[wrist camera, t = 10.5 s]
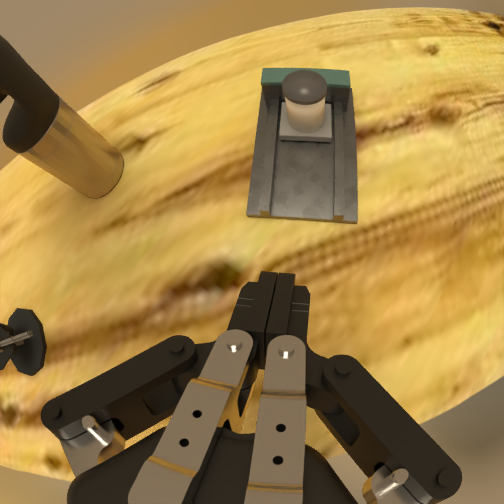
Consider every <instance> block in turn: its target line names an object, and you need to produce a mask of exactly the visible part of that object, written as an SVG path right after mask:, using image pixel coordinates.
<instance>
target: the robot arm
mask: <svg viewBox="0 0 504 504" xmlns="http://www.w3.org/2000/svg"><path fill="white" fill-rule="evenodd" d="M7 95H10V96H11V97H12V98H13V99H14V100H15V101H14V104H13V106H12V108H11V110H10V112H9V114H8V116H7V119H6V121H5V124H4V129H3V141H4V143H5V144H6V146H7V147H9V148H10V149H12V150H13V151H15V152H16V153H18V154H20V155H21V156H23V157H24V158H26V159H27V160H29V161H31V162H32V163H34V164H35V165H37V166H39V167H40V168H42V169H43V170H45V171H47V172H48V173H50V174H51V175H53V176H55V177H56V178H58V179H60V180H61V181H63V182H64V183H66V184H68V185H69V186H71V187H73V188H74V189H76V190H77V191H79V192H81V193H82V194H84V195H86V196H87V197H90V198H98V197H101V196H103V195H105V194H107V193H108V192H109V191H110V190H111V189H112V188H113V187H114V186H115V185H116V183H117V182H118V180H119V178H120V176H121V174H122V170H123V158H122V156H121V154H120V153H119V152H118V151H117V150H116V149H115V148H114V147H113V146H112V145H111V144H110V143H109V142H108V141H107V140H105V139H104V138H103V137H102V136H101V135H100V134H99V133H98V132H97V131H96V130H95V129H94V128H92V127H91V126H90V125H89V124H88V123H87V122H86V121H85V120H84V119H83V118H82V117H81V116H80V115H78V114H77V113H76V112H75V111H74V110H73V109H72V108H71V107H70V106H68V105H67V103H66V102H64V101H63V100H62V99H61V98H60V97H59V96H58V95H57V94H56V93H55V92H54V91H53V90H52V89H51V88H50V87H49V86H48V85H47V84H46V83H45V81H43V79H42V78H41V77H40V76H39V75H38V74H37V73H36V72H35V71H34V70H33V69H32V68H31V67H30V66H29V65H28V64H27V63H26V62H25V61H24V59H23V58H22V57H21V56H20V55H19V54H18V53H17V51H16V50H15V49H14V48H13V47H12V46H11V45H10V44H9V43H8V41H6V40H5V39H4V38H3V37H2V36H1V35H0V103H1V102H2V101H3V100H4V99H5V98H6V97H7ZM309 305H310V293H309V291H308V289H307V287H306V286H295V274H290V273H279V274H278V273H277V272H265V271H261V273H260V277H259V280H258V282H248V283H247V284H246V285H245V286H244V287H243V288H242V289H241V291H240V294H239V297H238V300H237V303H236V306H235V308H234V311H233V314H232V317H231V320H230V323H229V326H228V328H227V331H226V332H224V333H222V334H221V335H220V336H219V337H218V338H217V340H216V341H213V342H210V343H202V344H194V342H193V341H192V340H191V339H190V338H189V337H186V336H182V335H176V336H172V337H170V338H168V339H166V340H164V341H162V342H160V343H159V344H157V345H155V346H153V347H151V348H149V349H148V350H146V351H144V352H142V353H140V354H138V355H136V356H135V357H133V358H131V359H129V360H127V361H125V362H123V363H122V364H120V365H118V366H116V367H114V368H112V369H110V370H108V371H106V372H105V373H103V374H101V375H99V376H97V377H95V378H93V379H91V380H89V381H87V382H85V383H83V384H81V385H79V386H78V387H76V388H74V389H72V390H70V391H68V392H66V393H64V394H62V395H60V396H58V397H56V398H54V399H52V400H50V401H48V402H47V403H46V404H45V405H44V407H43V409H42V411H41V420H42V423H43V424H44V426H45V427H46V428H48V429H49V430H50V431H51V432H52V433H53V434H54V435H55V436H56V437H57V438H58V439H59V440H60V442H61V445H62V447H63V450H64V452H65V455H66V457H67V459H68V462H69V464H70V466H71V468H72V470H73V473H74V475H75V477H76V478H75V479H74V480H73V481H72V483H71V485H70V487H69V489H68V493H67V504H358V503H357V501H356V500H355V499H354V497H353V496H352V495H351V493H350V492H349V491H348V489H347V488H346V487H345V485H344V484H343V483H342V481H341V480H340V479H339V477H338V476H337V474H336V473H335V471H334V470H333V469H332V467H331V466H330V464H329V463H328V462H327V460H326V459H325V458H324V457H323V456H322V455H321V454H320V453H319V452H318V451H316V450H315V449H313V448H312V447H310V446H308V445H306V444H305V431H306V406H308V407H311V408H313V409H315V412H316V414H317V415H318V416H319V418H320V419H321V420H322V422H323V423H324V424H325V425H326V427H327V428H328V429H329V430H330V432H331V433H332V434H333V435H334V437H335V438H336V439H337V440H338V442H339V443H340V444H341V445H342V447H343V448H344V449H345V450H346V452H347V453H348V454H349V455H350V456H351V458H352V459H353V460H354V461H355V463H356V464H357V465H358V466H359V467H360V469H361V470H362V471H363V472H364V474H365V475H366V476H367V477H368V479H367V480H366V482H365V483H364V485H363V489H362V493H363V497H364V499H365V501H366V503H367V504H436V503H438V502H441V501H443V500H445V499H447V498H449V497H451V496H452V495H454V494H455V493H456V491H458V489H459V487H460V485H461V482H462V473H461V470H460V468H459V466H458V465H457V464H456V463H455V462H454V461H453V460H452V459H451V458H450V457H449V456H448V455H447V454H446V453H445V452H444V451H443V450H442V449H441V447H440V446H439V445H438V444H437V443H436V442H435V441H434V440H433V439H432V438H431V437H430V436H429V435H428V434H427V433H426V432H425V431H424V430H423V429H422V428H421V427H420V426H419V425H418V423H417V422H416V421H415V420H414V419H413V418H412V417H411V416H410V415H409V414H408V413H407V412H406V411H405V410H404V409H403V408H402V407H401V406H400V405H399V404H398V403H397V402H396V401H395V399H394V398H393V397H392V396H391V395H390V394H389V393H388V392H387V391H386V390H385V389H384V388H383V387H382V386H381V385H380V384H379V383H378V382H377V381H376V380H375V379H374V378H373V377H372V375H371V374H370V373H369V372H368V371H367V370H366V369H365V368H364V367H363V366H362V365H361V364H360V363H359V362H358V361H357V360H356V359H355V358H353V357H351V356H348V355H335V356H333V357H331V358H329V359H328V358H325V357H322V356H320V355H317V354H316V353H314V352H313V351H312V350H311V349H310V348H309V346H308V344H307V328H308V317H309ZM258 369H264V370H265V374H264V382H263V390H262V392H261V396H260V402H259V410H258V418H257V425H256V433H251V434H241V430H242V423H243V419H244V416H245V414H246V411H247V408H248V405H249V402H250V399H251V396H252V393H253V390H254V387H255V380H256V377H257V373H258ZM172 414H173V415H172ZM170 415H172V417H171V419H170V421H169V423H168V425H167V426H166V427H163V428H161V429H159V430H157V431H155V432H153V433H152V434H150V435H149V436H147V437H145V438H144V439H142V440H140V441H139V442H137V443H135V444H134V445H132V446H130V447H128V448H127V449H125V450H124V448H125V441H126V440H128V439H130V438H132V437H134V436H136V435H137V434H139V433H141V432H143V431H145V430H146V429H148V428H150V427H152V426H153V425H155V424H157V423H159V422H160V421H162V420H164V419H165V418H167V417H169V416H170Z"/></svg>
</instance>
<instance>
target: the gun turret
mask: <svg viewBox="0 0 504 504" xmlns="http://www.w3.org/2000/svg"><path fill="white" fill-rule="evenodd" d="M46 348H47V346H46V341H45V336H44V331H43V325H42V324H41V322H40V321H39V319H38V318H37V316H36V315H35V313H34V312H33V310H27V309H20V308H17V309H16V310H15V312H14V313H13V314H12V315H11V317H10V318H9V320H8V325H4V324H1V323H0V370H3V369H4V367H5V366H6V364H7V362H8V361H9V359H10V358H11V360H12V362H13V363H14V365H15V367H16V368H17V370H18V371H19V372H21V373H24V374H27V375H29V376H33V375H35V374H36V373H37V372H38V371H39V370H40V369H41V368H42V367H43V366H44V359H45V354H46Z"/></svg>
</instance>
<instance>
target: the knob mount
mask: <svg viewBox="0 0 504 504" xmlns="http://www.w3.org/2000/svg"><path fill="white" fill-rule="evenodd" d="M298 70H310V71H314V72H316V73H318V74H320V75H321V76H323V78H324V79H325V80H326V82H327V94H326V96H325V104H331V129H332V139H331V142H317V141H296V140H280V136H279V133H280V121H281V109H282V102H286V100H285V96H284V94H283V90H282V82H283V79H284V78H285V77H286V76H287V75H288V74H290V73H292V72H294V71H298ZM261 85H262V93H261V100H260V108H259V116H258V124H257V132H256V140H255V148H254V156H253V164H252V172H251V180H250V188H249V197H248V205H247V213H246V215H247V216H248V217H259V218H277V219H294V220H309V221H324V222H337V223H351V224H356V223H357V156H356V136H355V120H354V107H353V96H352V88H350V86H351V85H350V76H349V71H345V70H331V69H312V68H263V71H262V78H261Z"/></svg>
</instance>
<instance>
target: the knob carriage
mask: <svg viewBox="0 0 504 504" xmlns="http://www.w3.org/2000/svg"><path fill="white" fill-rule="evenodd" d="M282 90H283V94H284V96H285V100H286V102H282V109H281V121H280V133H279V136H280V140H296V141H317V142H331V139H332V129H331V104H325V96H326V94H327V82H326V80H325V79H324V78H323V76H321V75H320V74H318V73H316V72H314V71H310V70H298V71H294V72H292V73H290V74H288V75H287V76H286V77H285V78H284V79H283V82H282Z"/></svg>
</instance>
